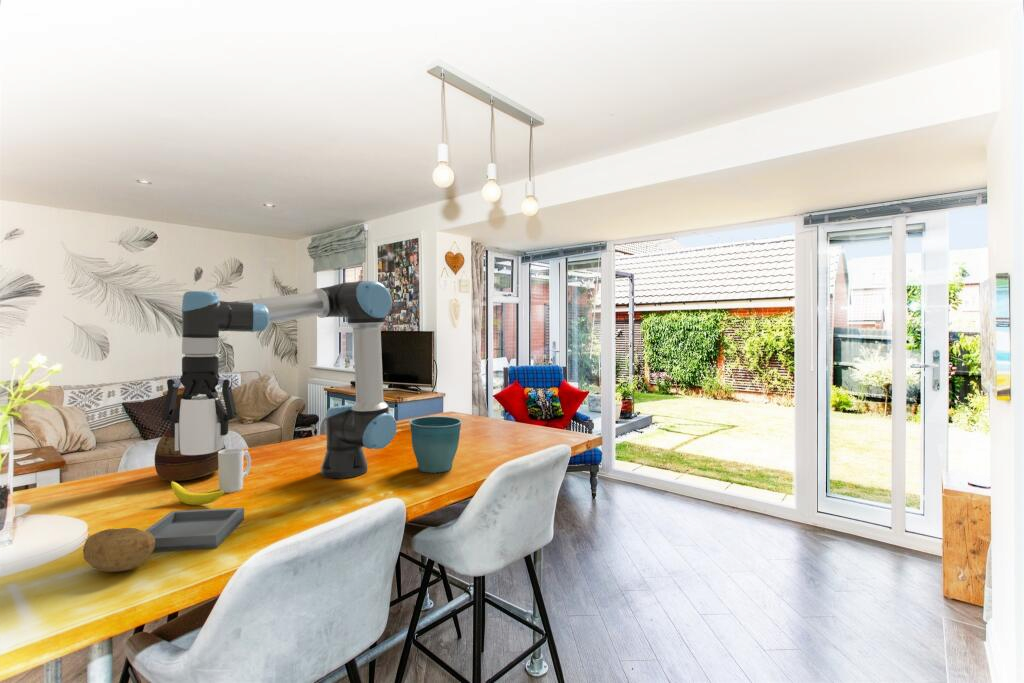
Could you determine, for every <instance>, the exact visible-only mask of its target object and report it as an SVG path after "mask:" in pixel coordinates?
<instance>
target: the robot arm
mask: <svg viewBox="0 0 1024 683" xmlns="http://www.w3.org/2000/svg"><path fill="white" fill-rule="evenodd" d="M392 306H393V300H392V296H391V293H390V291H389V289H387V288H386V286H385V285H384V284H383V283H381V282H379V281H376V280H375V281H374V280H361V281H353V282H352V281H351V282H341V283H338V284H334V285H330V286H326V287H320V288H318V287H317V288H314V289H313V290H312V292H302V293H294V294H286V295H278V296H270V297H269V296H268V297H260V298H252V299H243V300H236V301H225V300H221V298H220V294H218V293H217V292H212V291H204V290H203V291H202V290H199V291H198V290H196V291H195V290H191V291H190V290H189V291H185V292H184V294H183V297H182V304H181V318H182V319H181V320H182V321H181V325H182V326H181V328H182V329H181V330H182V335H181V339H182V341H181V342H182V343H181V354H183V355H184V356H183V357H181V372H182V373H181V376H180V377H179V378H170V379H167V380H166V385H167V391H168V392H167V396H166V397H165V401H164V406H163V411H162V415H161V420H162V421H166V422H169V423H170V427H171V435H172V436H175V451H178V450H180V435H179V417H180V404H181V400H180V402H179V403H178V405H177V407H176V409H175V411H174V407H175V403H176V398H177V394H178V389H179V388H180V387H181V384H182V386H183V388H184V387H185V390H184V392H183V394H182V398H181V399H185V400H191V398H192V397H193V396H194V394H198V395H205V396H207V398H209V399H215V398H219V399H218V400H216V399H215V408H216V414H217V416H218V418H219V420H220V421H219V422H218V423H216V450H220V449H222V448H224V444H225V436H227V435H228V434H229V422H230V421H231V420H234V419H235V418H237V417H238V414H237V408H236V404H235V399H234V394H233V388H232V387H233V383H234V382H233V379H232V378H221V377H220V375H219V363H220V362H219V360H220V358H219V357H218V354H219V350H220V348H219V346H220V344H219V342H220V341H219V339H220V338H219V337H220V332H242V333H244V332H246V333H247V332H248V333H249V332H251V333H254V332H255V333H257V332H259V333H260V332H263V331H265V330H266V329H267V328H268V325H269V324H271V323H272V324H273V323H277V322H283V321H284V322H285V321H292V320H297V319H304V318H310V317H315V316H317V317H318V318H321V319H322V318H332V317H333V318H347V325H348V326H349V327H351V328H352V336H353V357H354V359H353V360H354V380H355V381H354V382H355V403H354V404H353V403H351V404H346V405H344V404H343V405H336V406H332V407H329V408H328V409H327V411H326V417H325V422H326V426H325V427H326V452H325V455H324V458H323V461H322V464H321V468H320V469H321V470H320V474H321V476H323V477H325V478H327V479H328V478H329V479H347V478H354V477H357V476H361V475H364V474H365V473H367V472H368V461H367V458H366V455H365V453H364V449H363V448H366V449H369V450H373V449H374V450H382V449H384V448H385V447H387V446H388V445H389V444H390V443H391V442H392V440H393V439H394V437H395V436H396V433H397V428H398V426H397V425H398V424H397V421H396V418H395V417H394V416H393V414H391V413H389V411H390V409H389V404H388V403H387V402H386V401H385V400H384V380H383V359H382V358H383V356H382V353H383V352H382V334H381V332H382V331H381V329H382V327H383V326H384V325H385V324H386V316H388V315H389V313H390V311H391V310H392ZM218 384H219V386H220V387H221V388H222V390H221V391H222V395H223V396H222V397H223V400H224V405H223V402H222V401H221V398H220V397H219V393H218V390H217V389H216V387H217V386H218ZM173 412H174V413H173Z"/></svg>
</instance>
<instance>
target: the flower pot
mask: <svg viewBox="0 0 1024 683" xmlns="http://www.w3.org/2000/svg"><path fill="white" fill-rule="evenodd" d="M461 424H462V420H461V419H459V418H457V417H452V416H451V417H450V416H425V417H417V418H414V419H411V420H410V421H409V426H410V432H411V433H410V434H411V444H412V450H413V454H414V457H415V458H416V459H415V460H416V462H417V469H418V470H419V471H421V472H424V473H429V472H430V474H432V473H433V474H438V473H444V472H448V471H450V470H452V468H453V462H454V460H455V456H456V454H457V451H458V447H459V442H460V434H461V432H460V431H461V427H462V426H461ZM437 472H438V473H437Z"/></svg>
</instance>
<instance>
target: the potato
mask: <svg viewBox="0 0 1024 683" xmlns="http://www.w3.org/2000/svg"><path fill="white" fill-rule="evenodd" d="M154 547H155V539H154V536H153V535H152V534H151V533H150V532H147V531H145V530H141V529H138V528H136V527H122V528H107V529H105V530H104V529H103V530H100V531H98V532H96V533H94V534H92V535H90V536H88V537H87V539H86V540H85V542H84V545H83V549H82V553H83V559H84V561H85V562H86V564H88V565H89V566H90V567H92V568H93V569H95V570H97V571H101V572H109V573H110V572H112V573H114V572H117V573H118V572H119V573H120V572H125V571H131V570H134V569H135V568H137V567H138V566H140V565H142V564H144V563H145V562H146V561H147V560H148V559H149V558H150V557H151V555H152V553H153V552H152V551H153V550H154Z"/></svg>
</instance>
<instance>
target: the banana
mask: <svg viewBox="0 0 1024 683" xmlns="http://www.w3.org/2000/svg"><path fill="white" fill-rule="evenodd" d="M169 483H171V484H170V485H171V490H172V491H173V493H174V496H175V497H176V498H177V499H178V501H180V502H182V503H184V504H186V505H190V506H201V505H207V504H210V503H214V502H216V501H217V500H219V499H220V498H221V497H222V496H224V494H226V493H225V491H217V490H216V491H213V492H212V491H211V492H206V493H195V492H191V491H188V490H186V489H185V488H184V487H183V486H181V484H179V483H177V482H176V481H173V480H170V481H169Z"/></svg>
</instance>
